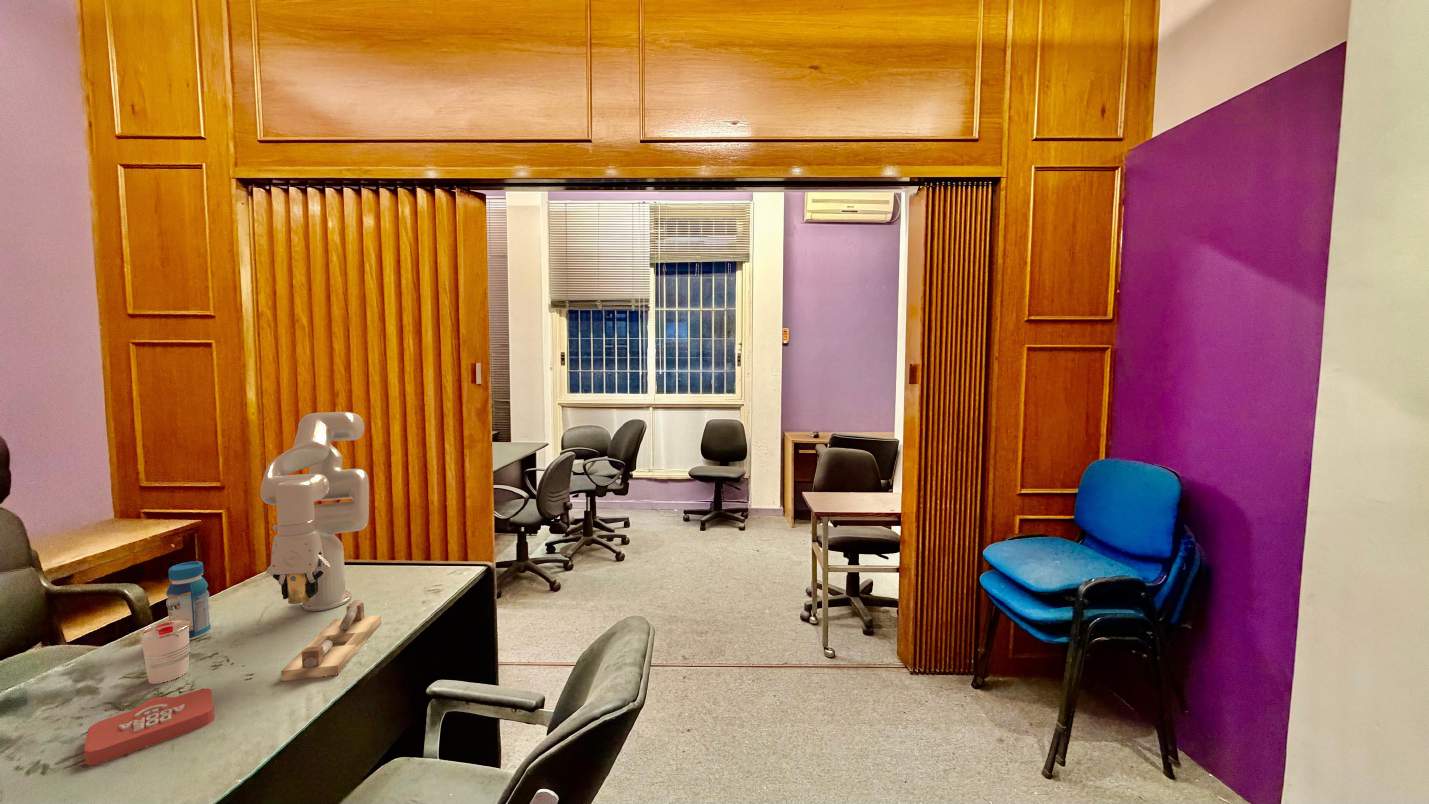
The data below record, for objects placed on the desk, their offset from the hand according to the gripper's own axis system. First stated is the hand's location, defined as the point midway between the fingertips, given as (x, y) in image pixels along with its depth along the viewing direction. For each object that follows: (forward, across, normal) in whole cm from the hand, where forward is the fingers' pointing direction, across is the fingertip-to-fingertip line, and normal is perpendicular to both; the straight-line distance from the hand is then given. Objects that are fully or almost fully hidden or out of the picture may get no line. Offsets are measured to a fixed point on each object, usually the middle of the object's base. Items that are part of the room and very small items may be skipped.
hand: (300, 595), depth 137 cm
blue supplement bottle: (+16, -36, +15) cm, 42 cm away
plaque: (+16, -14, -26) cm, 34 cm away
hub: (+1, 0, 0) cm, 1 cm away
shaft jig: (+16, +8, 0) cm, 17 cm away
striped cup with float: (+16, -26, -6) cm, 31 cm away
